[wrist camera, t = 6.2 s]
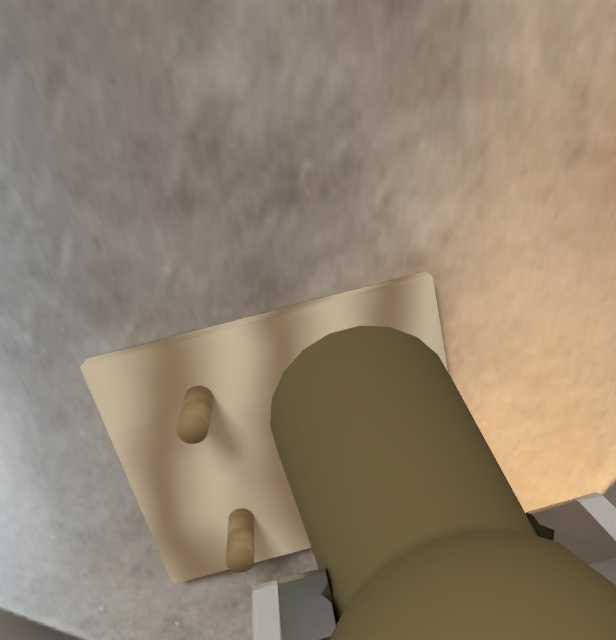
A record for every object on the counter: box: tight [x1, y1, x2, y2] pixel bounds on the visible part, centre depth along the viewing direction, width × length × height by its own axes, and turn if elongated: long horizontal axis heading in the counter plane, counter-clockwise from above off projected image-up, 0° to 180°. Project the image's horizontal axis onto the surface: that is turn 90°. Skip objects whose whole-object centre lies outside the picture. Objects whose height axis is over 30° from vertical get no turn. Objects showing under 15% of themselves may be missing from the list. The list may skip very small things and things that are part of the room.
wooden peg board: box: [80, 271, 448, 584], centre depth 30 cm, size 20×16×5 cm
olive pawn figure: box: [270, 326, 616, 640], centre depth 11 cm, size 6×6×11 cm
